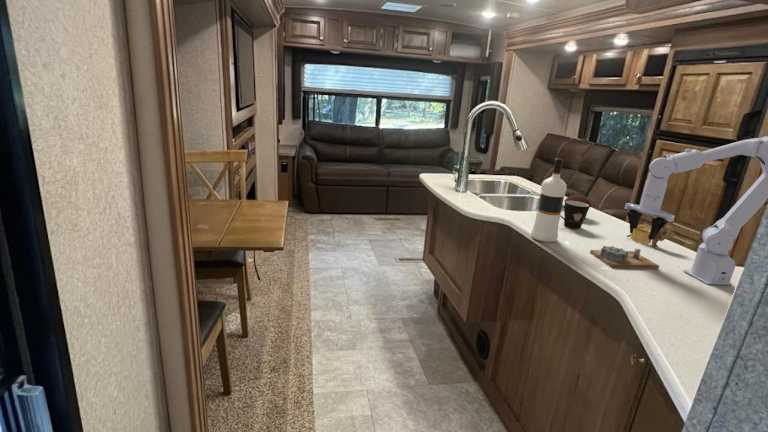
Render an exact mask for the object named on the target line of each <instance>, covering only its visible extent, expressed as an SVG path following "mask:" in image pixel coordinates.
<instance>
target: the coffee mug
mask: <svg viewBox="0 0 768 432" xmlns="http://www.w3.org/2000/svg"><path fill="white" fill-rule="evenodd" d="M588 206H589V205H588V204H586V203H582V202H578V201H566V206H565V205H562V208H563V209H565V216H564V217H563V216H562V215H561V217H560V219H562V220H563V221H564V222H563V227H565V228H566V229H567V228H568V229H571V230H581V228H582V226H583V222H584V221H585V219H584V217H585V215H586V212H587V209H588ZM587 213H588V212H587ZM586 216H587V215H586ZM585 218H586V217H585Z"/></svg>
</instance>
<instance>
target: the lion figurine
mask: <svg viewBox="0 0 768 432" xmlns="http://www.w3.org/2000/svg"><path fill="white" fill-rule="evenodd" d="M637 228H641V229H646V230H649V231H651V227H648V226H647V225H645V224H638V226H637ZM673 234H674V228H673V227H672V226H671V225H669V224H668V225H667V224H665V225H664V226H663V227H662V228H661V230H660V231H659V232H658V234H657V235H656V237H655V239H653V240H651V248H652V249H656V248H657V247H658V242H663V241H665V240H669V239H671V238H672V236H673ZM631 235H632V233H630V234H628V235H626V237H627V238H631ZM634 242H636V241H634ZM636 243H637V242H636Z"/></svg>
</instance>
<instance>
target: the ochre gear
mask: <svg viewBox="0 0 768 432" xmlns="http://www.w3.org/2000/svg"><path fill="white" fill-rule="evenodd" d="M650 232H651V231H649V230H646V229H641V228H636V229H635V228H634V229H633V232H632V233H631V234H632V235H631V236H630V239H631V241H633V242H635V241H636V243H639V244H645V245H648V244H652V240H650V239H649V235H650Z"/></svg>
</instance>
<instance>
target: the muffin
mask: <svg viewBox="0 0 768 432" xmlns="http://www.w3.org/2000/svg"><path fill="white" fill-rule="evenodd" d="M566 201H578V202H582V203H586V204H588V205H589V206H588V209H587V212H586V215H585V217H584V220H586V218H587V214H588V212H589V210H590V208H591V207H592V203H591V201H590V199H589V198H588V197H587V196H585V195H583V194H576V193H575V194H572V195H569V196H567V197H566V198H564V200H563V203H564V206H566ZM563 209H564V208H563ZM563 214H564V217H565V209H564V211H563Z"/></svg>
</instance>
